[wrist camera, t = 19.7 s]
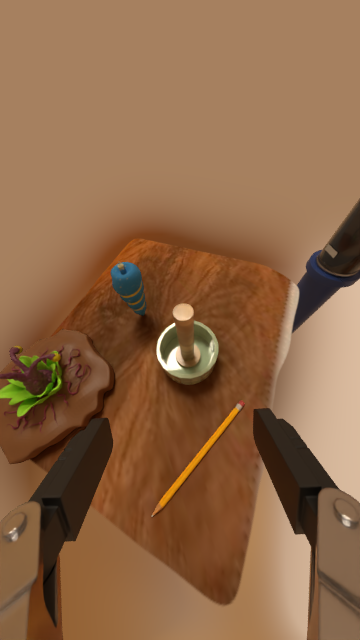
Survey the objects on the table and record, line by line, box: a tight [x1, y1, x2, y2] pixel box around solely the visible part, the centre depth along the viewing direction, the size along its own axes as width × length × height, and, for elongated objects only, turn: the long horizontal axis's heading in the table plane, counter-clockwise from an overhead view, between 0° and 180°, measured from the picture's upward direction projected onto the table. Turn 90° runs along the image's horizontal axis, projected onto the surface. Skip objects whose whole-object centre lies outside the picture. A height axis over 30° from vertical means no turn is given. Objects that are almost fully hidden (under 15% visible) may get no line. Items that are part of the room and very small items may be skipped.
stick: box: [173, 304, 201, 368], centre depth 26 cm, size 5×5×15 cm
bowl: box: [156, 321, 218, 385], centre depth 31 cm, size 10×10×5 cm
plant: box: [0, 329, 114, 464], centre depth 27 cm, size 20×20×11 cm
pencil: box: [151, 401, 245, 517], centre depth 25 cm, size 1×19×1 cm
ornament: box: [111, 261, 146, 316], centre depth 32 cm, size 5×5×15 cm
